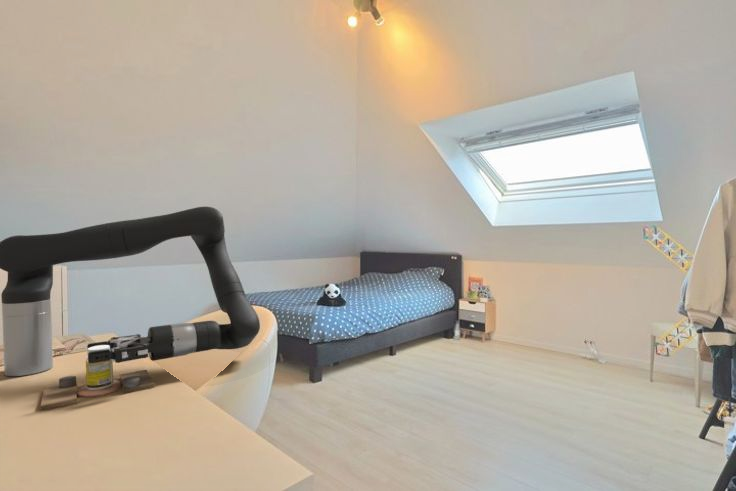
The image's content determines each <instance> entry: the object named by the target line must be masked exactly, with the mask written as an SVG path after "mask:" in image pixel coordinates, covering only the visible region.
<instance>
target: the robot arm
mask: <svg viewBox="0 0 736 491" xmlns="http://www.w3.org/2000/svg"><path fill="white" fill-rule="evenodd" d="M224 223H225V222H224V216H223V215H222V213H221V211H220V210H218V209H217V208H215V207H212V206H197V207H192V208H188V209H184V210H181V211H176V212H172V213H168V214H167V213H166V214H162V215H157V216H149V217H148V216H147V217H143V218H136V219H128V220H127V219H126V220H119V221H113V222H107V223H100V224H95V225H91V226H86V227H82V228H77V229H74V230H70V231H69V230H68V231H64V232H57V233H46V234H34V235H33V234H31V235H22V234H21V235H11V236H9V237H6V238H4V239H3V240H1V241H0V270H2V271H5V272H6V273H7V281H6V285H5V287H4V288H3V289H2V292H1V295H0V296H1V313H2V314H1V316H2V319H1V320H2V342H3V346H2V347H3V368H4V376H6V377H19V376H29V375H34V374H38V373H41V372H45V371H48V370H50V369H52V368H53V367H54V366H53V365H54V358H53V355H54V354H53V328H52V307H51V306H52V303H51V302H52V301H51V292H52V288H53V285H54V282H53V281H54V265H55V266H56V265H60V264H65V263H71V262H72V263H73V262H88V261H101V260H109V259H117V258H119V259H120V258H124V257H130V256H134V255H139V254H142V253H145V252H146V251H149V250H151V249H152V248H155V247H156V246H158V245H159V244H161V243H164V242H166V241H169V240H172V239H177V238H183V237H191V239H192V240H193V242H194V243H195V245H196V247H197V248H198V250H199V252H200V253H201V255H202V257H203V259H204V262H205V264H206V266H207V269H208V274H209V278H210V281H211V286H212V289H213V291H214V295H215V298H216V301H217V304H218V306H219V308H220V310H221V311H222V312H223V313H226V314H227V316H228V319H229V321H230V323H225V324H224V323H221V324H220V323H218V322H217V321H215V320H204V321H195V322H179V323H173V324H165V325H156V326H151V327H149V328H148V329H147V336H145V337H144V336H142V337H141V334H139V333H136V334H133V335H124V336H116V337H115V336H113V337H111V338H110V339H108V340H106V341H99V342H91V343H88V344H87V346H86V347H87V349H88V348H90V347H93V346H98V345H109V346H110V349H106V350H100V351H93V352H89V353H88V354H87V358H88V362H89V363H97V362H103V361H110V359H111V361H112V362H114V363H115V364H116V363H117V364H119V363H122V362H123V363H124V362H129V361H134V360H135V361H136V360H140V359H146V358H149V360H150V361H152V362H153V361H154V362H155V361H159V360H165V359H171V358H178V357H182V356H188V355H190V354H195V353H199V352H207V351H212V350H237V349H238V350H239V349H241V348H245V347H247V346H249V345H250V344H251V343H252V341H253V340H254V339H255V338H256V336H257V335H258V334H259V332H260V329H261V328H260V327H261V325H260V318H259V316H258V314H257V311H256V309H255V308H254V307H253V305H252V304H251V302H250V301H249V299H248V298H247V296H246V293H245V290H244V287H243V284H242V282H241V279H240V277H239V275H238V273H237V271H236V269H235V267H234V265H233V263H232V261H231V259H230V257H229V254H228V253H229V252H228V251H227V245H226V244H227V243H226V239H225V230H226V229H225V224H224ZM87 349H86V350H87Z"/></svg>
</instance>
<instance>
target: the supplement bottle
mask: <svg viewBox="0 0 736 491" xmlns="http://www.w3.org/2000/svg"><path fill="white" fill-rule="evenodd" d="M106 349H110V346H109V345H98V346H93V347H90V348H88V349H86V350H87V351H86V352H87V353H86V354H87V355H88V353H89V352H93V351H100V350H106ZM113 362H114V361H111V359H110V361H103V362H97V363H89V362H88V357H86V359H85V372H86V373H85V374H86V385H87V389H89V390H99V389H104V388H107V387H110V386H111V385H112V384H113V381H114V369H113V368H114V366H113Z"/></svg>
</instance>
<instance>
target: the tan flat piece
mask: <svg viewBox="0 0 736 491" xmlns="http://www.w3.org/2000/svg"><path fill="white" fill-rule="evenodd" d="M118 377H119V380H113V384H112V385H111V386H110V387H107V388H104V389H99V390H89V389H87V384H86V385H84V386H81V387H79V388H78V384H77V383H78V382H77V376H76V375H69V376H63V377H60V378H59V379H58V384H57V385H53V386H48V387H44V389H43V392H42V393H43V394H42V398H41V403H40V405H39V406H40V409H39V410H40V411H45V410H49V409H55V408H59V407H63V406H70V405H75V404H77V402H78V401H77V400H78V398H77V396H78V397H84V398H86V397H87V398H89V397H98V396H103V395H107V394H111V393H113V392H115V391H119V390H120V389H123V393H124V394H128V393H132V392H137V391H143V390H148V389H153V388H155V382H154V381H153V378H152V377H151V374H150V373H149V371H148V370H147V369H143V370H136V371H132V372H125V373H121V374H119V376H118Z"/></svg>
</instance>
